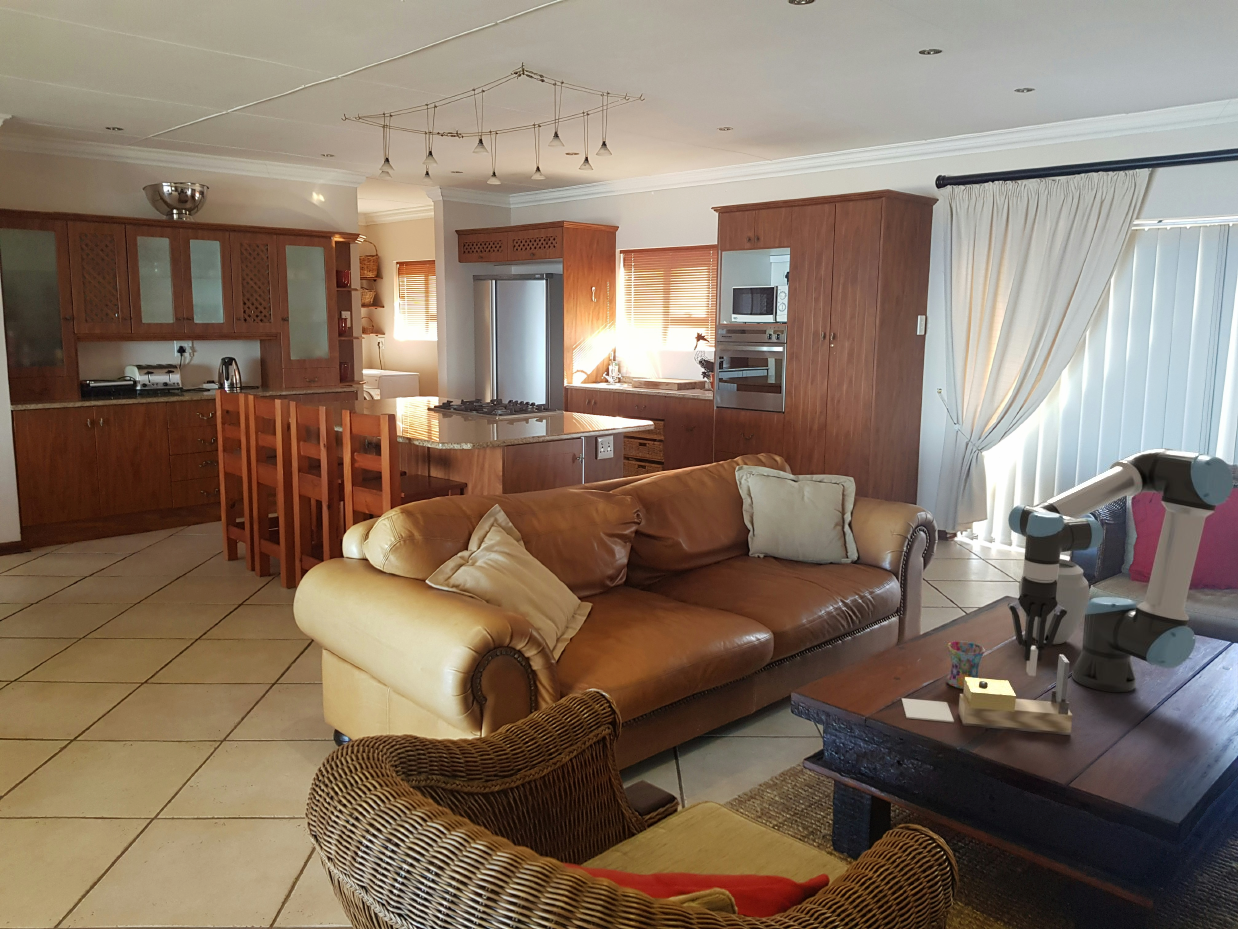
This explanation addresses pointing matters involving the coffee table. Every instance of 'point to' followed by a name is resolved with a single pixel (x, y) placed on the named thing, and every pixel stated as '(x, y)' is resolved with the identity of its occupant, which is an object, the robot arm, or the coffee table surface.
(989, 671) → the coffee table surface
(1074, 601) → the vase
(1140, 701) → the coffee table surface
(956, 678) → the mug
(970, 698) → the yellow block with knob
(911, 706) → the felt pad
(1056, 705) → the body
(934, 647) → the coffee table surface
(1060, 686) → the lever
